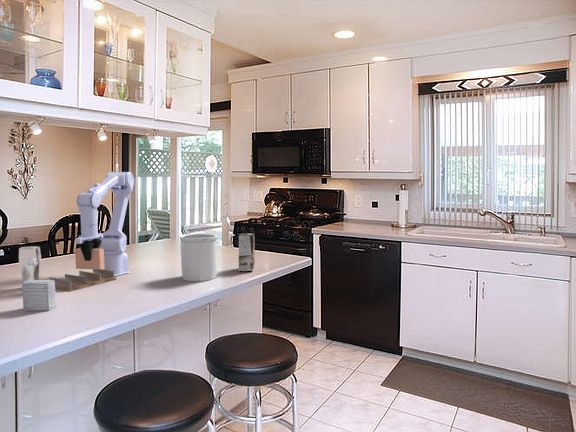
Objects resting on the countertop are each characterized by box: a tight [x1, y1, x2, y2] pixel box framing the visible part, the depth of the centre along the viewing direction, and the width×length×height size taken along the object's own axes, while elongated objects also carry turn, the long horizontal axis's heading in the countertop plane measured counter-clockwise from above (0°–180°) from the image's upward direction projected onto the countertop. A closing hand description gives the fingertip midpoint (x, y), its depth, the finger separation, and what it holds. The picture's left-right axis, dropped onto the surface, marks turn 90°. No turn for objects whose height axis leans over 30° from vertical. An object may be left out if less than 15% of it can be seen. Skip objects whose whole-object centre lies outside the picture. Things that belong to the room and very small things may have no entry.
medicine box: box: [21, 279, 57, 312], centre depth 133 cm, size 8×4×9 cm, turn 92°
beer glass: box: [18, 245, 42, 285], centre depth 158 cm, size 7×7×15 cm
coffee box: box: [238, 232, 256, 272], centre depth 191 cm, size 9×6×16 cm
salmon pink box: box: [74, 247, 104, 270], centre depth 164 cm, size 10×3×8 cm, turn 81°
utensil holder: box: [179, 232, 218, 282], centre depth 176 cm, size 15×15×18 cm
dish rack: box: [48, 268, 117, 292], centre depth 166 cm, size 20×13×4 cm, turn 152°
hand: (90, 259), depth 164 cm, fingers closed on salmon pink box, 3 cm apart
